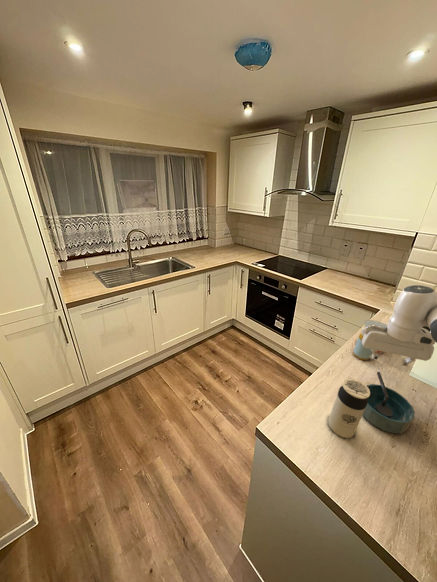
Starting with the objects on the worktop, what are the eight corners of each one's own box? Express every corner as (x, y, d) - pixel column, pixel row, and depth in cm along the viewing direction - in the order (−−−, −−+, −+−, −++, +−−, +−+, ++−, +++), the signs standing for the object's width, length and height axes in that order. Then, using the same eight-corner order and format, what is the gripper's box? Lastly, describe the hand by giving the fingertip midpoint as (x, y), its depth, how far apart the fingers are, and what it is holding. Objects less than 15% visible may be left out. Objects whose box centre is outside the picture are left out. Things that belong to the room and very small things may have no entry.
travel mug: (330, 411, 83) (344, 373, 75) (355, 424, 79) (372, 385, 71) (325, 428, 77) (339, 389, 70) (352, 443, 73) (370, 403, 65)
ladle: (380, 385, 94) (386, 372, 91) (392, 422, 80) (399, 408, 77) (366, 381, 96) (371, 369, 93) (376, 417, 81) (382, 404, 78)
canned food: (383, 344, 119) (391, 325, 114) (382, 357, 110) (391, 336, 105) (358, 336, 124) (365, 317, 119) (356, 348, 116) (363, 327, 111)
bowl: (400, 403, 87) (406, 392, 85) (414, 441, 74) (421, 429, 72) (354, 390, 92) (359, 379, 89) (360, 424, 79) (366, 412, 76)
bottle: (354, 358, 109) (364, 332, 102) (351, 349, 115) (360, 323, 108) (371, 362, 107) (382, 335, 100) (367, 352, 113) (377, 326, 107)
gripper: (369, 328, 81) (358, 359, 87) (442, 342, 74) (425, 375, 80) (365, 319, 86) (356, 349, 92) (434, 331, 80) (418, 363, 85)
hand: (388, 361), depth 86 cm, fingers open, 8 cm apart
